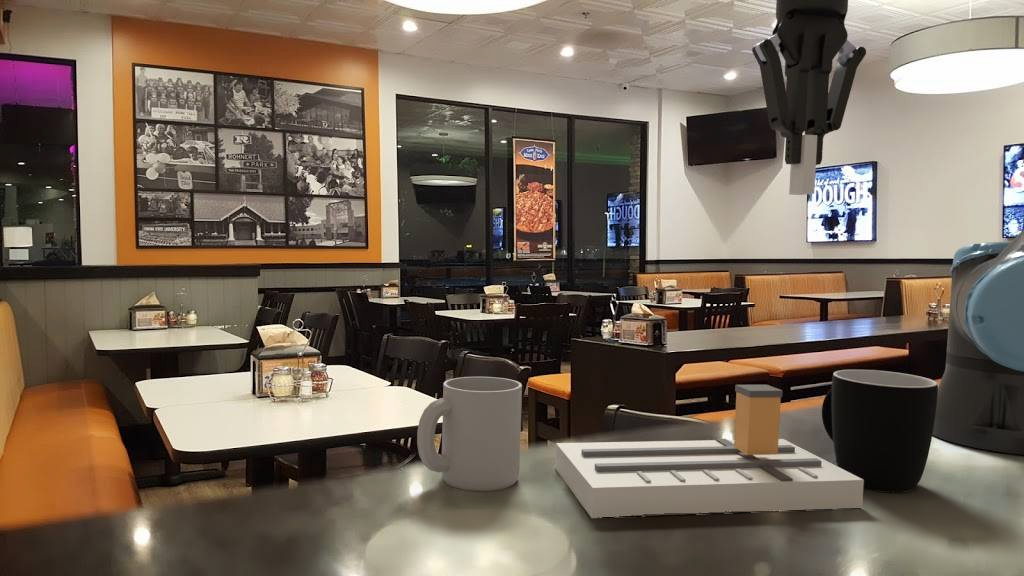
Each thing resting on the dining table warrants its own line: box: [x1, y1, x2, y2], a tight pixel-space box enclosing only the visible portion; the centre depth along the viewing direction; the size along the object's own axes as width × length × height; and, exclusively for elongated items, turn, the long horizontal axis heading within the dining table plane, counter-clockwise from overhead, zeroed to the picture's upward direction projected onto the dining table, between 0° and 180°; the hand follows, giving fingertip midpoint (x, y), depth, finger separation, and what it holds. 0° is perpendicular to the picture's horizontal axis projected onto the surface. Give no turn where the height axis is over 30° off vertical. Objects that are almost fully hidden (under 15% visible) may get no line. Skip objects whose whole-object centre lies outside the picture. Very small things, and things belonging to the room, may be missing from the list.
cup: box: [416, 376, 523, 492], centre depth 67 cm, size 7×10×9 cm
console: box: [554, 438, 864, 519], centre depth 67 cm, size 24×13×3 cm, turn 100°
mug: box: [821, 369, 939, 494], centre depth 71 cm, size 12×9×10 cm
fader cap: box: [733, 384, 784, 455], centre depth 68 cm, size 3×3×6 cm
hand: (801, 193), depth 84 cm, fingers closed
